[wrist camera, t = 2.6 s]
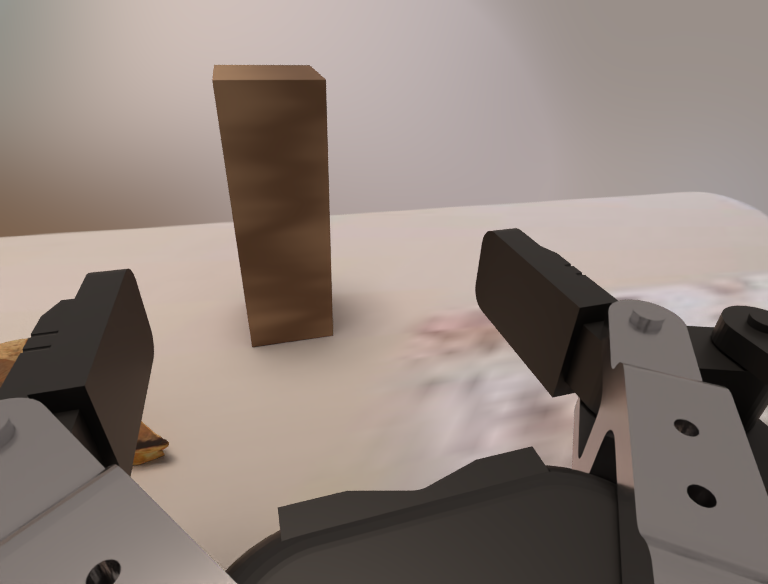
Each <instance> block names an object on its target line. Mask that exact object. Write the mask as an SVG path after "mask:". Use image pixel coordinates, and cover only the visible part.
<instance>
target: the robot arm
mask: <svg viewBox="0 0 768 584" xmlns="http://www.w3.org/2000/svg"><path fill="white" fill-rule="evenodd" d="M475 291H476V299H477V302H478V305H479V307H480V309H481V310H482V311H483V313H484V314H485V315H486V316H487V318H488V319H489V320H490V321H491V323H492V324H493V325H494V326H495V327H496V329H497V330H498V331H499V332H500V334H501V335H502V336H503V337H504V338H505V340H506V341H507V342H508V343H509V345H510V346H511V347H512V348H513V349H514V351H515V352H516V353H517V354H518V356H519V357H520V358H521V359H522V360H523V362H524V363H525V364H526V365H527V367H528V368H529V369H530V370H531V371H532V373H533V374H534V375H535V376H536V378H537V379H538V380H539V381H540V383H541V384H542V385H543V386H544V387H545V389H546V390H547V391H548V392H549V394H550V395H551V396H552V397H557V396H562V395H566V394H571V393H576V394H577V395H578V400H577V402H576V405H575V410H574V430H573V452H572V469H570V468H565V467H557V466H548V465H545V464H544V463H543V461H542V460H541V458H540V457H539V455H538V454H537V453H536V451H535V450H534V448H533V447H528V448H523V449H519V450H515V451H511V452H507V453H503V454H498V455H494V456H490V457H486V458H482V459H478V460H475V461H473V462H471V463H470V464H468V465H466V466H464V467H462V468H461V469H459V470H457V471H455V472H453V473H452V474H450V475H448V476H446V477H444V478H442V479H441V480H439V481H437V482H435V483H433V484H432V485H430V486H428V487H426V488H424V489H421V490H414V491H345V492H341V493H336V494H332V495H328V496H324V497H320V498H316V499H312V500H307V501H303V502H299V503H295V504H291V505H287V506H282V507H278V514H279V523H280V530H279V531H278V532H276V533H274V534H272V535H270V536H268V537H267V538H265V539H264V540H262V541H261V542H259V543H258V544H256V545H255V546H253V547H252V548H250V549H249V550H248V551H247V552H245V553H244V554H243V555H242V556H241V557H240V558H238V559H237V560H236V561H235V562H234V563H233V564H232V565H231V566H230V567H229V568H228V569H227V570H226V571H224V570H223V569H222V568H221V567H220V566H219V565H218V564H217V563H216V562H215V561H214V560H213V559H212V558H211V557H210V556H209V555H208V554H207V553H206V552H205V551H204V550H203V549H202V548H201V547H200V546H199V545H198V544H197V543H196V542H195V541H194V540H193V539H192V538H191V537H190V536H189V535H188V534H187V533H186V532H185V531H184V530H183V529H182V528H181V527H180V526H179V525H178V524H177V523H176V522H175V521H174V520H173V519H172V518H171V517H170V516H169V515H168V514H167V513H166V512H165V511H164V510H163V509H162V508H161V507H160V506H159V505H158V504H157V503H156V502H155V501H154V500H153V499H152V498H151V497H150V496H149V495H148V494H147V493H146V492H145V491H144V490H143V489H142V488H141V487H140V486H139V485H138V484H137V483H136V482H135V481H134V480H133V479H132V478H131V477H130V476H131V471H132V465H133V460H134V455H135V450H136V445H137V440H138V435H139V430H140V425H141V420H142V414H143V409H144V404H145V399H146V394H147V389H148V384H149V379H150V374H151V369H152V363H153V358H154V344H153V336H152V332H151V328H150V325H149V321H148V318H147V315H146V311H145V308H144V305H143V302H142V298H141V295H140V292H139V289H138V285H137V282H136V279H135V276H134V274H133V272H132V271H131V270H130V269H122V270H112V271H103V272H93V273H88V274H87V275H86V277H85V279H84V281H83V283H82V285H81V287H80V289H79V291H78V293H77V295H76V297H75V299H69V300H61V301H60V302H59V303H58V304H56V305H55V306H54V307H53V308H51V309H50V310H49V311H47V312H46V313H45V314H44V315H42V316H41V317H40V319H39V321H38V323H37V324H36V326H35V328H34V330H33V331H32V333H31V338H28V340H27V342H26V344H25V345H24V347H23V349H22V350H23V353H20V354H19V356H18V358H17V359H16V361H15V363H14V365H13V366H12V368H11V370H10V372H9V373H8V375H7V377H6V379H5V380H4V382H3V384H2V386H1V387H0V584H768V426H767V425H766V424H765V423H763V422H762V421H761V420H760V419H759V418H760V416H761V415H762V413H763V412H764V410H765V408H766V407H767V405H768V311H767V310H763V309H760V308H755V307H749V306H731V307H728V308H725V309H724V310H723V312H722V313H721V315H720V317H719V319H718V321H717V323H716V325H715V327H697V326H686V324H685V323H684V322H683V320H682V319H681V318H680V317H679V316H677V315H676V314H675V313H673V312H671V311H670V310H668V309H666V308H664V307H661V306H659V305H656V304H653V303H650V302H645V301H640V300H620V301H618V300H617V299H615V298H614V297H613V296H611V295H610V294H609V293H608V292H606V291H605V290H604V289H602V288H601V287H600V286H599V285H597V284H596V283H595V282H593V281H592V280H591V279H590V278H588V277H587V276H586V275H582V272H580V271H579V270H578V269H577V268H575V267H574V266H571V264H570V263H569V262H568V261H566V260H565V259H564V258H562V257H561V256H560V255H559V254H557V253H555V252H553V251H551V250H548V249H546V248H544V247H541V246H540V245H539V244H537V243H536V242H535V241H534V240H532V239H531V238H530V237H529V236H527V235H526V234H525V233H524V232H522V231H521V230H520V229H517V228H514V229H504V230H495V231H488V232H487V233H486V234H485V235H484V237H483V241H482V247H481V253H480V260H479V266H478V273H477V280H476V287H475Z"/></svg>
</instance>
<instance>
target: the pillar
mask: <svg viewBox="0 0 768 584" xmlns="http://www.w3.org/2000/svg"><path fill="white" fill-rule="evenodd" d="M213 88H214V94H215V101H216V107H217V114H218V121H219V128H220V134H221V141H222V148H223V155H224V161H225V168H226V175H227V181H228V188H229V195H230V201H231V207H232V215H233V222H234V228H235V235H236V242H237V248H238V255H239V262H240V268H241V275H242V282H243V289H244V295H245V302H246V309H247V315H248V322H249V329H250V335H251V342H252V347H256V346H263V345H270V344H276V343H283V342H290V341H297V340H304V339H311V338H317V337H324V336H331V335H333V318H332V282H331V247H330V212H329V175H328V139H327V106H326V105H327V104H326V80H325V79H324V78H323V77H322V76H321V75H320V74H319V73H318V72H317V71H315V70H314V69H313V68H312V67H311V66H310V65H214V70H213Z"/></svg>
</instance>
